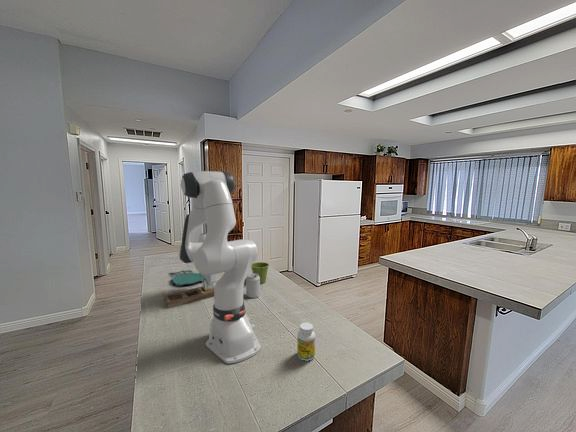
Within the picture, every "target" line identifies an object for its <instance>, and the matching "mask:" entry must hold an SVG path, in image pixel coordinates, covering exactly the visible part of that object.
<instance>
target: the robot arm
mask: <svg viewBox="0 0 576 432" xmlns="http://www.w3.org/2000/svg"><path fill="white" fill-rule="evenodd" d="M235 185H236V184H235V178H234V176H233V175H232V173H231V172H229V171H208V170H203V171H196V172H193V171H190V172H186V173H184V174H183V175H181V179H180V189H181V191H182V192H183V194H184V196H186V197H187V198H191V200H192V201H191V203H192V204H191V205H192V207H191V211H190V212H189V213H188V214H187V215H186V216H185V218H184V223H183V230H182V237H181V244H180V247H179V250H178V251H179V252H178V258H179V259H180V261H182V262H183V263H185V264H190V263H193V264H194V267H195V269H196V270H197V272H198V273H200V274H201V275H202V276H203V278H205V279H206V280H207V281H208V284H207V285H208V288H211V287H212V283H213V284H214V283H215V285H214V286H215V287H214V297H213V300H214V302H213V306H212V307H213V308H212V312H213V313H212V315H213V317H212V319H211V321H210V323H209V334H208V335H209V337H208V339H207V340H206V341H205V347H206V348H207V349H209V350H210V351H211V352H212V353H213V354H215V355H216V356H217V357H218V358H219V359H220V360H222V361H223V362H224V363H225V364H235V363H239V362H240V363H241V362H243V361H245V360H248V359H249V358H252V357H253V356H255V355H256V354H258V353H259V352H260V351H261V349H262V346H261V343H260V342H259V340H258V338H257V336H256V335H255V332H254V331H256V325H255V324H253V323H252V324H251V322H250V320H251V319H250V317H249V316H248V315H247V313H246V311H247V310H246V305H245V301H244V286H245V285H244V284H245V282H246V281H245V280H246V278H247V275H248V272H249V271H250V269H251V268H252V267H251V265H252V264H253V263H256V261H257V260H258V257H259V249H258V245H257V244H256V243H255V242H254V241H253V240H251V239H236V240H235V239H234V240H230V241H228V235H229V233H230V232H231V231H232V230H233V229H234V228H235V227H236V224H237V219H236V214H235V210H234V205H233V199H232V196H231V194H233V192H234V190H235ZM205 224H206V232H205V233H200V234H198V241H197V242H191V240H192V239H191V238H192V232H193V230H194V229H195V228H197V227H200V226H203V225H205ZM221 273H223V275H222V276H221V277H220V278H219V279H218V278H217V277H218V275H217V274H221Z"/></svg>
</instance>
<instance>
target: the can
mask: <svg viewBox="0 0 576 432" xmlns="http://www.w3.org/2000/svg"><path fill="white" fill-rule="evenodd" d="M245 280H246V281H245V287H246V289H245V290H246V291H245V294H246V296H247V297H248V298H249V299H256V298H258V297H259V296H260V294H261V283H260V277H259V275H258V274H256V273H253V272H252V273H251V272H250V273H249V274H248V273H247V275H246V277H245Z"/></svg>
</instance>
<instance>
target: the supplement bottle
mask: <svg viewBox="0 0 576 432" xmlns="http://www.w3.org/2000/svg"><path fill="white" fill-rule="evenodd" d="M296 340H297V345H296V348H297V349H296V350H297V353H296V354H297V357H298V359H300V360H302V361H303V360H305V362H309V360H310V361H312V360H313V359H314V358H315V356H316V333H315V331H314V325H313V324H312V323H310V322H302V323H301V324H299V331H298V332H297V339H296Z"/></svg>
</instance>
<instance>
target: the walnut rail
mask: <svg viewBox="0 0 576 432" xmlns="http://www.w3.org/2000/svg"><path fill="white" fill-rule="evenodd" d="M214 287H215V285H214V284H213V290H210V291H206V292H204V291H203V290H202V286H199V287H194V288H191V289H185V290H181V291H177V292H172V293H168V294H164V295H163V301H164V303H165V304H166V307H167V309H171V308H174V307H179V306H182V305H185V304H191V303H194V302H197V301H198V302H199V301H201V300H202V301H203V300H205V299H209V298H212V297H213V298H214Z"/></svg>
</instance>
